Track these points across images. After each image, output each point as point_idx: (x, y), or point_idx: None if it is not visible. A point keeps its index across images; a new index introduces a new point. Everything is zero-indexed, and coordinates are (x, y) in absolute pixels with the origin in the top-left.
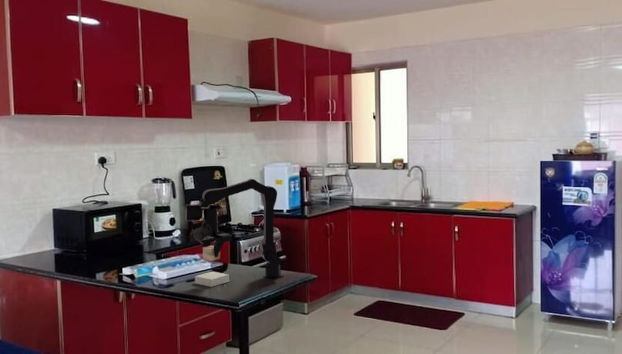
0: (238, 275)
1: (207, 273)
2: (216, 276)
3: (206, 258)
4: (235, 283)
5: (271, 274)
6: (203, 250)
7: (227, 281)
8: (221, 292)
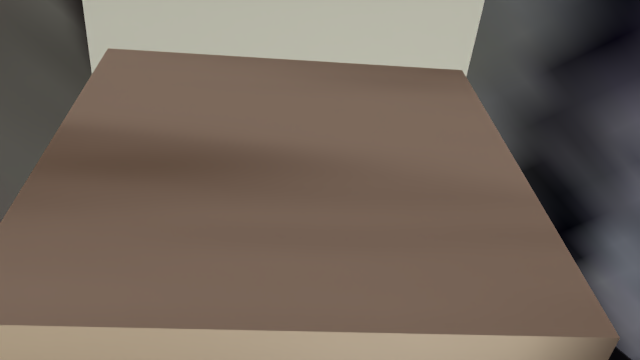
0: None
1: None
2: (168, 28)
3: (316, 78)
4: (15, 132)
5: None
6: (518, 236)
7: None
8: None
